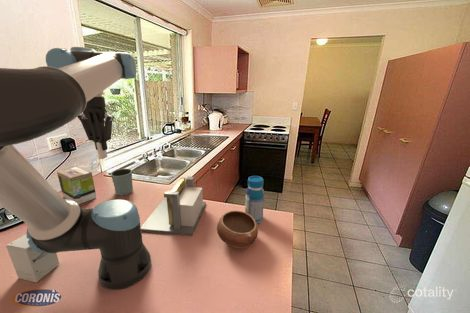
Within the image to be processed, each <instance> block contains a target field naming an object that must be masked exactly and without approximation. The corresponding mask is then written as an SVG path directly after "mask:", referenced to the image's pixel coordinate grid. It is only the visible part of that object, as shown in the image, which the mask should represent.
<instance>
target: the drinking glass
mask: <svg viewBox="0 0 470 313" xmlns="http://www.w3.org/2000/svg"><path fill="white" fill-rule="evenodd" d="M110 176H111V179H112V183H113V186H114V191H115V192H114V193H115V194H116V195H117V196H126V195H129V193H130V194H132V192H133V191H134V188H133V170H132V169H131V168H118V169H114V170H113V171H112V172H110Z"/></svg>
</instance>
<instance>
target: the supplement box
mask: <svg viewBox="0 0 470 313" xmlns="http://www.w3.org/2000/svg"><path fill="white" fill-rule="evenodd" d="M28 241H29V239H28V238H27V235H26V233H25V234H23V235H21V236H20V237H18V238H16V239H15V240H13V241H11V242H10V243H9V242H8V243H7V244H6V245H5V247H6V249H7V252H8V255H9V257H10V260H11V262H12V265H13V269H14V270H15V274H16V276H17V278H18V279H20V280H25V281H28V282H33V283H38V282H39V281H41V279H43V278H44V277H45V276H46V275H48V274H49V273H50V272H52V271H53V270H54V269H55V268H57V267H58V266H59V265H60V261H59V257H58V253H40V252H37V251H35V250H33V249H32V248H31V247H30V246H29V244H28Z"/></svg>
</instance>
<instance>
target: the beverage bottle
mask: <svg viewBox="0 0 470 313" xmlns="http://www.w3.org/2000/svg"><path fill="white" fill-rule="evenodd" d="M264 183H265V182H264V178H263V177H262V176H259V175H251V176H248V179H247V186H248V187H246V190H245V197H244V200H245V202H244V204H245V206H244V212H245V213H248V214H249V215H251V216H252V217H253V218H254V220H255V221H256V223H257V224H259V223H261V222H263V221H262V220H263V218H264V217H263V216H264V215H263V214H264V203H265V190H264Z"/></svg>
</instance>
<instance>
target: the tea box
mask: <svg viewBox="0 0 470 313" xmlns="http://www.w3.org/2000/svg"><path fill="white" fill-rule="evenodd" d="M56 173H57V177H58V181H59V185H60V190H61V194H62V197H63V198H64V199H70V200H73V201H75V202H76V203H77V204H78V205H79V206H80V205H81V204H84V203H87V202H89V201H91V200H94V199H97V193H96V186H95V182H94V177H93V172H92V171H90V170H88V169H85V168H83V167H80V166H75V167H71V168H67V169H63V170H58V171H57V172H56Z"/></svg>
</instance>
